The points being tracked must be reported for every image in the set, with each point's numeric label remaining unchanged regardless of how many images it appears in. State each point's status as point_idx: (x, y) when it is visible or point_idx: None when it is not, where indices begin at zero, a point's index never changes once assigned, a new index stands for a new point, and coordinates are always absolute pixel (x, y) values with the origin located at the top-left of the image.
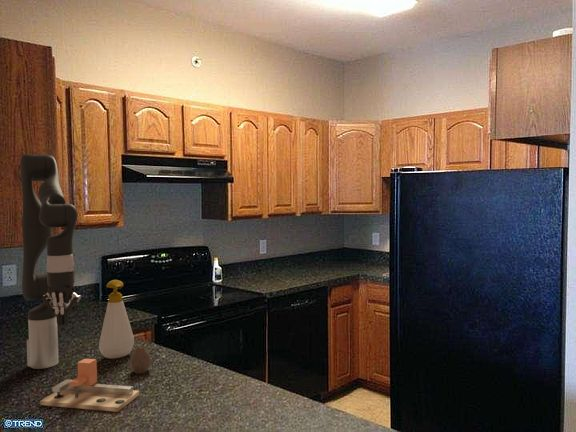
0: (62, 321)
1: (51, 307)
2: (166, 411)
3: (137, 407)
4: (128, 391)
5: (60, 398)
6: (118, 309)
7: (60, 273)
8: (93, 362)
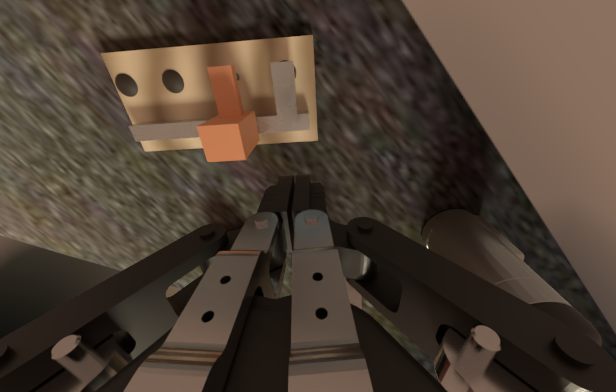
0: (276, 189)
1: (372, 244)
2: (22, 86)
3: (94, 89)
4: (134, 124)
5: None
6: None
7: None
8: (205, 146)
